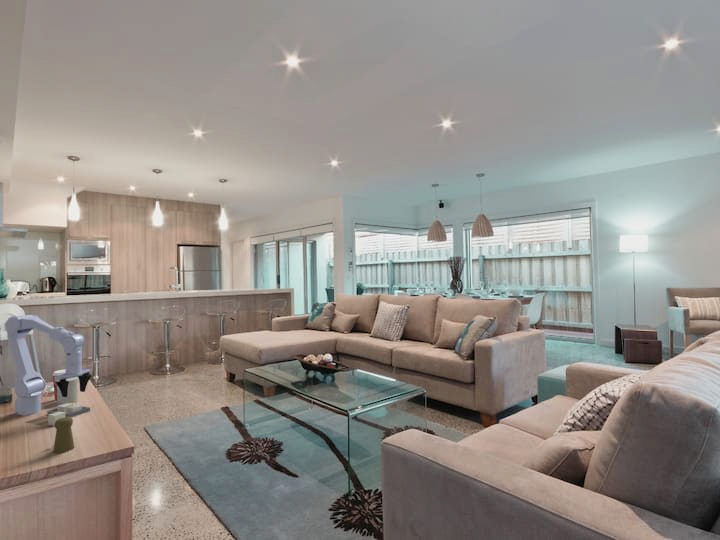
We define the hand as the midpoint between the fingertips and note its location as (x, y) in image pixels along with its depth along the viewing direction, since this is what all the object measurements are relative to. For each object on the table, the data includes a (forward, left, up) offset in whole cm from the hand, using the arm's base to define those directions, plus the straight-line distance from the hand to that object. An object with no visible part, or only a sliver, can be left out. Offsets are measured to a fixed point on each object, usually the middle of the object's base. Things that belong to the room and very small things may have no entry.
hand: (73, 394), depth 172 cm
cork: (+28, -23, -10) cm, 38 cm away
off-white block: (+5, -10, -8) cm, 14 cm away
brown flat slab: (-1, -10, -10) cm, 14 cm away
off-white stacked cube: (0, 0, -9) cm, 9 cm away
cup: (-20, +11, -10) cm, 24 cm away
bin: (-3, 0, -10) cm, 10 cm away
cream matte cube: (-5, 0, -9) cm, 11 cm away
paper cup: (-30, +15, -10) cm, 35 cm away
